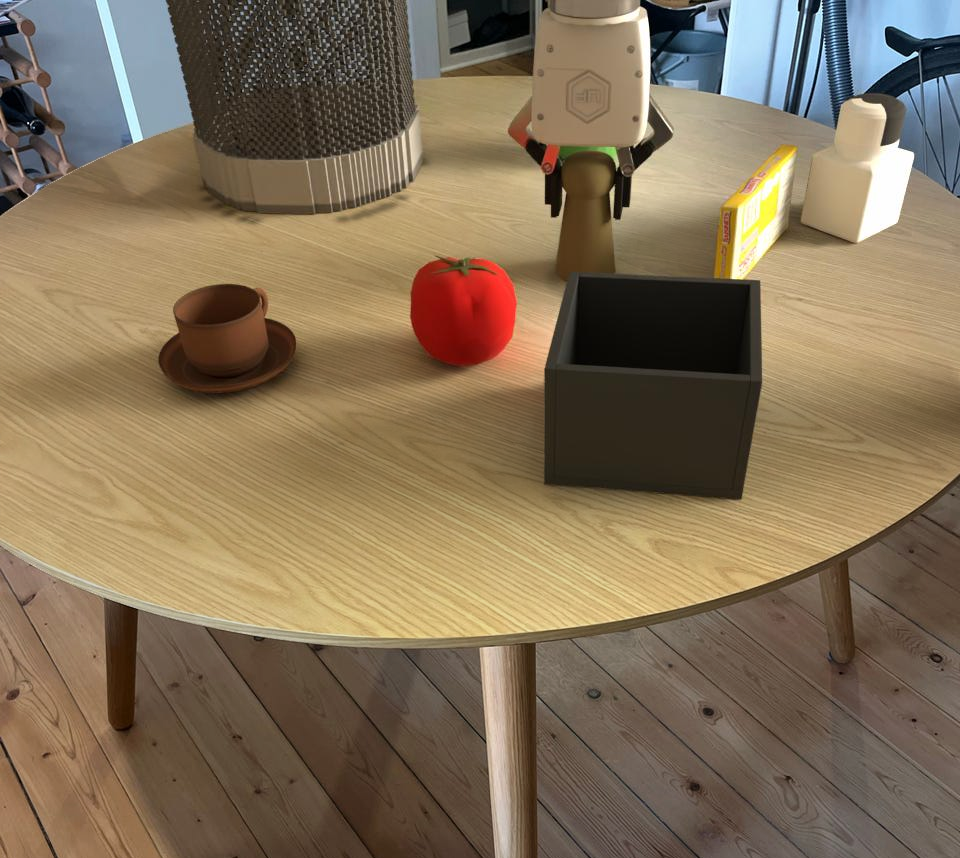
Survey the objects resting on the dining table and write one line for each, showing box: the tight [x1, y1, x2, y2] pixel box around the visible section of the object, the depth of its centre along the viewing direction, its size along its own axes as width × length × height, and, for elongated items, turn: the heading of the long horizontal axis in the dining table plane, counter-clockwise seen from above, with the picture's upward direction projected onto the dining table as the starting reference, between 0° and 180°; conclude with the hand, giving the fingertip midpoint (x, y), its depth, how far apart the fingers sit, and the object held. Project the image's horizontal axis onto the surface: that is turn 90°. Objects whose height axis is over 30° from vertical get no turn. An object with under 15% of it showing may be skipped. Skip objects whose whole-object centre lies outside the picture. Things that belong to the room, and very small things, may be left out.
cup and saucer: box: [157, 283, 297, 394], centre depth 88 cm, size 12×12×6 cm
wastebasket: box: [165, 0, 424, 215], centre depth 112 cm, size 25×25×30 cm
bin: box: [543, 272, 763, 500], centre depth 77 cm, size 15×15×10 cm
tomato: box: [409, 255, 518, 367], centre depth 88 cm, size 9×10×8 cm
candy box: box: [713, 143, 799, 279], centre depth 99 cm, size 16×2×8 cm, turn 149°
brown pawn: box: [554, 150, 617, 282], centre depth 97 cm, size 6×6×11 cm
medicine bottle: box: [800, 92, 915, 244], centre depth 102 cm, size 7×7×12 cm
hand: (587, 211), depth 97 cm, fingers closed on brown pawn, 5 cm apart
